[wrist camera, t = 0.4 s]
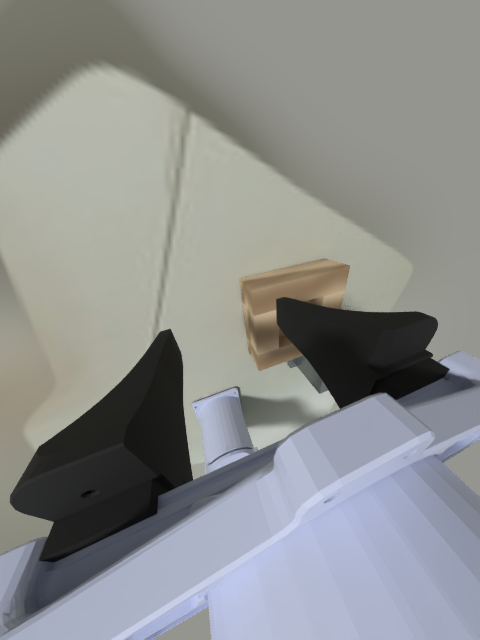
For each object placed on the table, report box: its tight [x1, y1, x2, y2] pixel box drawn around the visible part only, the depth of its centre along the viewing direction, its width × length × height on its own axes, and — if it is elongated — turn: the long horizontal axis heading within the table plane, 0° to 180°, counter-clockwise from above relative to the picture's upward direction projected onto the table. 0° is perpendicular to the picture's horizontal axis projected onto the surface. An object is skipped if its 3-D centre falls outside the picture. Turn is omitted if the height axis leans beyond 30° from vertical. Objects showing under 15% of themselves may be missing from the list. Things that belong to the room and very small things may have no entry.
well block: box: [240, 259, 350, 371], centre depth 23 cm, size 12×12×4 cm
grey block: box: [288, 355, 328, 394], centre depth 28 cm, size 4×4×7 cm
